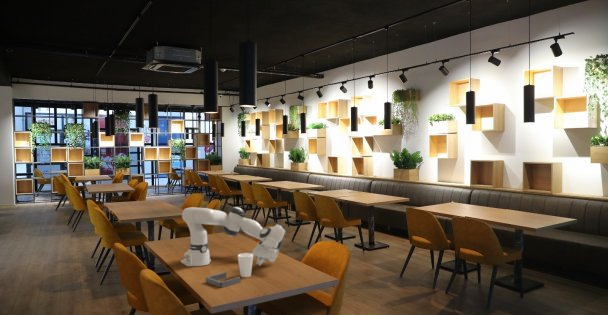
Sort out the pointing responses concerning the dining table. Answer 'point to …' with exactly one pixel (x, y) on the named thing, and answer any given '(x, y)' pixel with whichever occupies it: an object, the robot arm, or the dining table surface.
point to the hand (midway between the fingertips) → (258, 264)
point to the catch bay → (214, 282)
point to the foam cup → (245, 264)
